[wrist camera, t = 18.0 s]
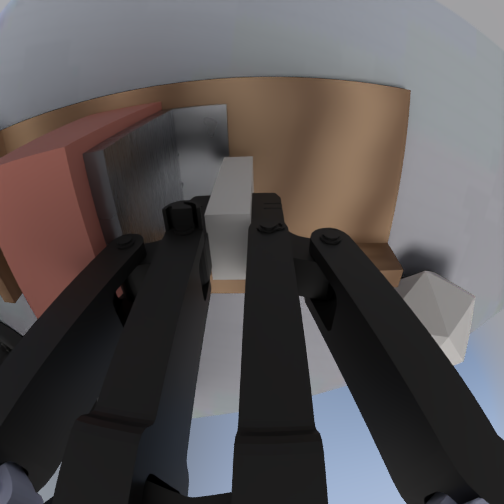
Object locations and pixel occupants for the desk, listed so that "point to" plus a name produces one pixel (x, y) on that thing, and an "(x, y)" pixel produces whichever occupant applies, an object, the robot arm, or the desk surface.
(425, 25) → the desk surface
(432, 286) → the die
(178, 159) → the bookend
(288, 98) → the shelf
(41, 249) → the book
